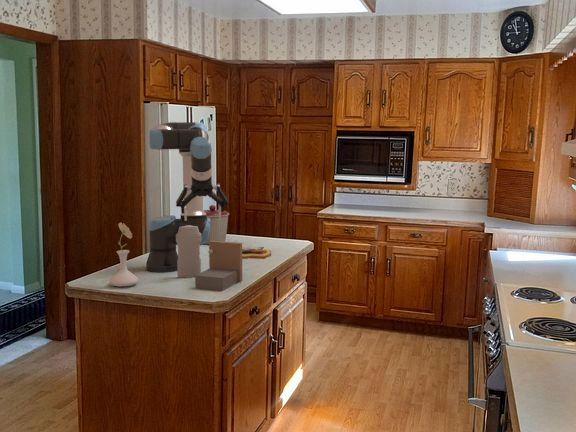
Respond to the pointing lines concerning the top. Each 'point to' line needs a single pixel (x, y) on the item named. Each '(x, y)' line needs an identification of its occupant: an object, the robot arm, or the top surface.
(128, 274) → the flower in vase
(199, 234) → the pale grey bottle shape
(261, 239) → the top surface
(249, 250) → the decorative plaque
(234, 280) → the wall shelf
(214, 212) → the canister
